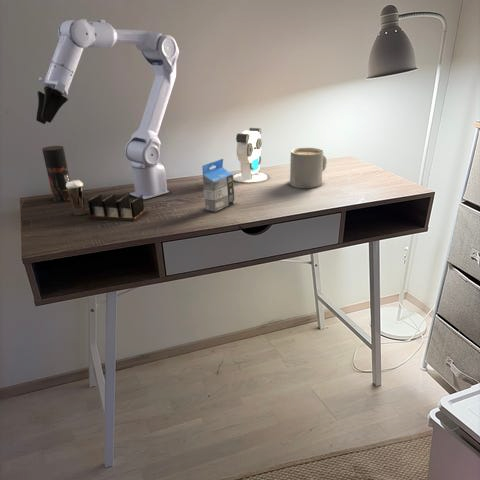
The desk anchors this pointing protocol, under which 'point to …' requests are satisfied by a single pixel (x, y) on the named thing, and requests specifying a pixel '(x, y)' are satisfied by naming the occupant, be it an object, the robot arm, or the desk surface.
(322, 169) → the coffee mug
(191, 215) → the desk surface
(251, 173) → the panda figurine
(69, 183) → the milkshake
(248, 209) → the desk surface
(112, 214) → the letter rack
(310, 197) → the desk surface
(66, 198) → the deodorant
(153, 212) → the desk surface
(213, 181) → the label tape box
